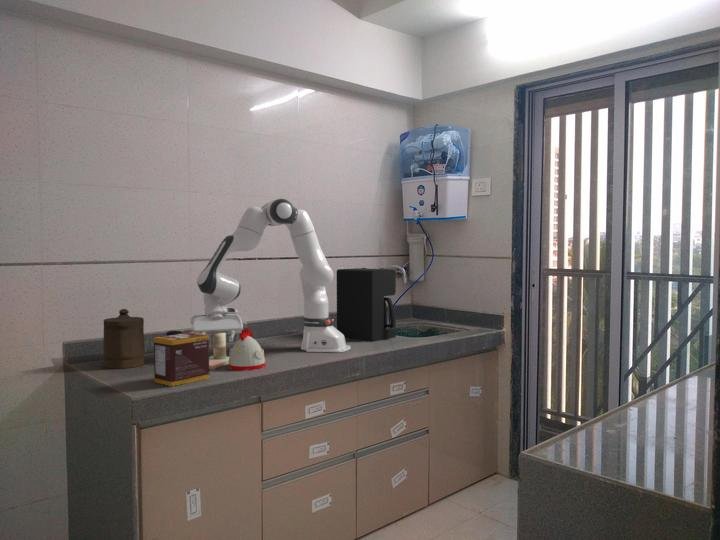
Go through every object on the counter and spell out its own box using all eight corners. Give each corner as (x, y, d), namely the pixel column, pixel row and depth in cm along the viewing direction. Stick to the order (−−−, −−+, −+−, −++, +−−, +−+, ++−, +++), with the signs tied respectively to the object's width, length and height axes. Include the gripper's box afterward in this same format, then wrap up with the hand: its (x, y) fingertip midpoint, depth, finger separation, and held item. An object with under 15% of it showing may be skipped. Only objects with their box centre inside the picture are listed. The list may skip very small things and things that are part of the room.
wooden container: (139, 359, 232) (139, 306, 232) (148, 366, 220) (147, 309, 219) (100, 363, 224) (99, 308, 223) (107, 370, 212) (106, 312, 211)
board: (238, 360, 231) (238, 357, 231) (213, 369, 214) (213, 365, 214) (213, 358, 235) (213, 355, 235) (186, 367, 218) (186, 363, 218)
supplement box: (210, 378, 199) (209, 334, 198) (171, 387, 186) (170, 340, 186) (192, 374, 205) (191, 331, 204) (153, 382, 193) (153, 337, 192)
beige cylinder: (228, 357, 230) (228, 332, 230) (221, 359, 225) (221, 334, 225) (218, 356, 232) (217, 332, 231) (210, 359, 227) (210, 334, 227)
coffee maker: (403, 337, 286) (403, 268, 285) (378, 342, 272) (378, 270, 270) (361, 332, 305) (361, 267, 303) (336, 336, 290) (336, 268, 289)
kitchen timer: (221, 369, 214) (220, 329, 213) (241, 362, 227) (240, 325, 226) (253, 371, 209) (252, 331, 208) (271, 364, 222) (271, 326, 221)
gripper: (190, 311, 231) (193, 338, 222) (241, 308, 238) (245, 335, 229) (189, 320, 235) (192, 347, 226) (239, 318, 243) (243, 344, 234)
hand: (219, 341), depth 228 cm, fingers open, 8 cm apart
